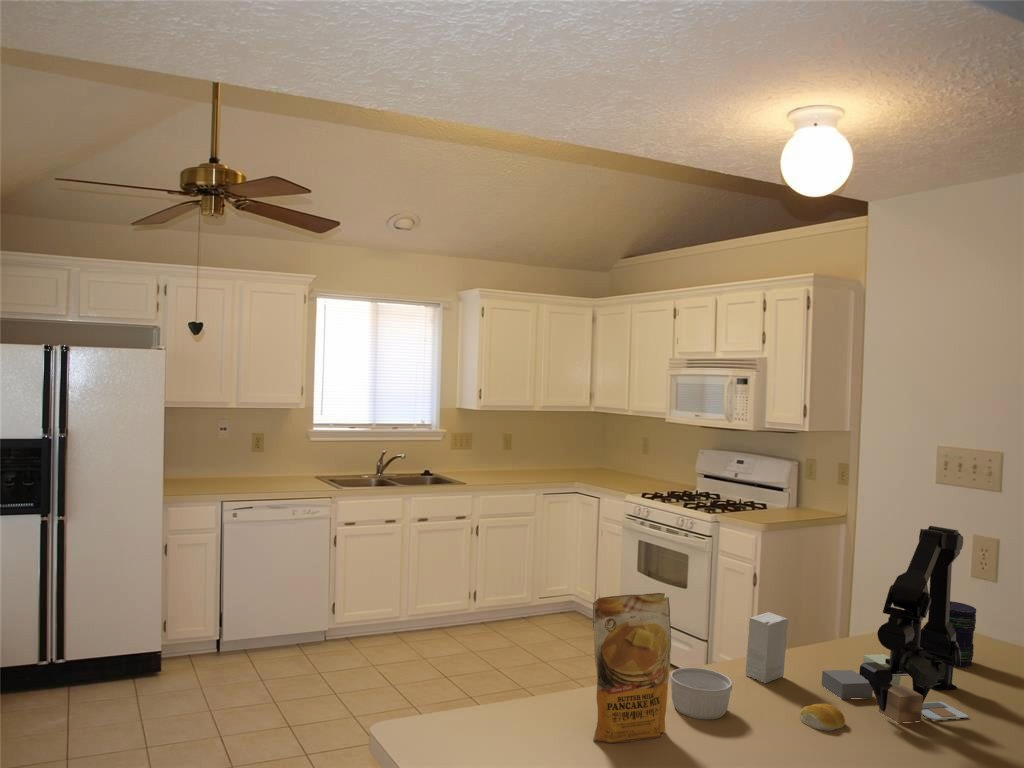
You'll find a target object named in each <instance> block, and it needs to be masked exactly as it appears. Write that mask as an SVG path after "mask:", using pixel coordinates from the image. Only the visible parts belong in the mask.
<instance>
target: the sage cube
mask: <svg viewBox="0 0 1024 768" xmlns="http://www.w3.org/2000/svg"><path fill="white" fill-rule="evenodd" d="M888 658H890V656H888V655H886V654H883V653H881V654H864V655H863V661H862V664H863V663H868V662H877V663H879V664H881V665H882V666H884V667H889V666H890V665H888V664H886V663H885V660H886V659H888ZM897 672H898V671H897ZM890 684H891V685H901V676H893V678H892V681H891V682H890Z"/></svg>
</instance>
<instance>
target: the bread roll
mask: <svg viewBox="0 0 1024 768" xmlns="http://www.w3.org/2000/svg"><path fill="white" fill-rule="evenodd" d="M799 719H800V721H801V722H802V723H803V724H805V725H806V726H808V727H810V728H811V729H812V728H813V729H816V730H817V731H824V732H825V731H827V732H828V731H829V732H830V731H835V730H837V729H839V728H840V729H843V728H844V727H845V724H846V720H845V716H844V714H843V712H841V710H840V709H838V707H836V706H834V705H832V704H830V703H814V704H811V705H806V706H804V707H803V708H802V709H801V710H800V711H799Z"/></svg>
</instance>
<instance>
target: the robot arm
mask: <svg viewBox="0 0 1024 768" xmlns="http://www.w3.org/2000/svg"><path fill="white" fill-rule="evenodd" d="M919 530H920V531H919V535H918V536H919V537H918V543H917V544H916V548H915V551H914V553H913V556H912V557H911V559H910V562H909V565H908V566H907V570H906V571H905V572H903V573H902V574H899V575H898V576H897V577H896V578H895V580H894V582H893V584H892V585H890V586H889V589H888V592H887V596H886V598H885V599H886V600H885V603H884V606H883V609H882V614H885V615H888V621H886V622H884V623H883V624H881V625H880V626H879V628H878V630H877V638H878V639H877V640H878V641H879V643H880V644H881V646H882V647H883V648H885V649H887V650H890V651H889V653H890V654H889V657H890V658H888V659H886V660H885V663H886V664H888V665H890V666H889V667H884V666H882V665H881V664H879V663H877V662H868V663H863V662H862V663H861V664H860V666H859V673H858V674H859V675H861V676H863V677H864V678H865V679H866V680H868V681H869V683H870V685H871V687H872V689H873V692H872V693H873V694H874V697H875V698H876V699H875V700H876V702H877V704H878V705H877V706H878V708H879V707H880V710H881V711H883V712H885V710H886V705H887V695H888V689H890V688H891V687H892V686H893V685H891V684H890V682H891V681H892V678H893V676H900V677H905V676H907V677H908V676H909V677H910V678H912V690H914V691H915V692H917V693H919V694H921V695H923V702H922V704H923V703H925V702H924V701H925V700H926V698H927V695H928V694H929V692H930V691H931V689H933V690H935V691H942V690H956V689H958V687H957V685H956V684H953V676H954V674H953V673H954V668H956V667H955V666H960V665H961V653H960V649H959V645H958V642H956V631H955V630H954V628H953V627H952V625H951V623H950V622H949V613H950V601H951V593H952V592H951V591H952V590H951V588H952V568H953V563H954V562H955V560H956V559H957V558H958V557H959V556H960V554H961V551H962V549H963V546H964V536H963V535H962V534H961V533H959V530H958V529H953V528H948V527H947V528H946V527H942V526H935V525H929V526H928V528H924V529H923V528H920V529H919ZM928 582H929V587H928ZM892 605H893V606H892ZM927 615H928V618H927ZM926 618H927V622H926V623H925V624H924V625H923V626H922V621H924V619H926ZM951 657H952V658H951ZM897 671H898V672H897Z"/></svg>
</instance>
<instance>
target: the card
mask: <svg viewBox="0 0 1024 768" xmlns="http://www.w3.org/2000/svg"><path fill="white" fill-rule="evenodd" d="M922 715H924V716H926V717H927V718H929V719H931V720H942V719H956V718H969V719H970V716H969V715H967V714H966V713H964V712H962V711H960V710H958V709H957V708H954V707H953V706H950V705H949V704H947V703H945V702H943V701H929V702H928V701H927V702H923V704H922ZM922 715H921V716H922ZM924 716H923V717H924ZM926 717H925V718H926ZM927 718H926V719H927ZM929 719H928V720H929ZM931 720H930V721H931ZM956 720H957V719H956Z"/></svg>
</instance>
